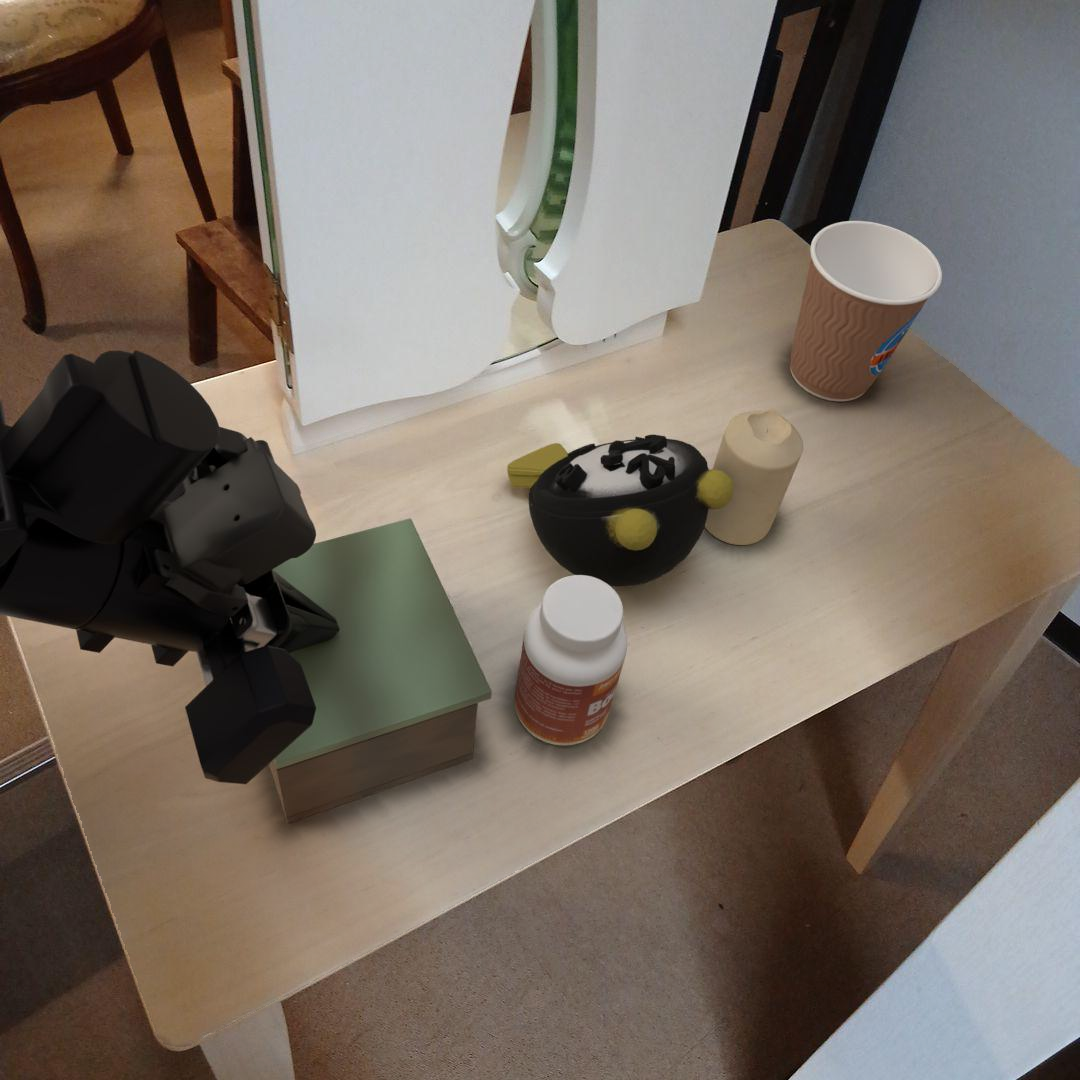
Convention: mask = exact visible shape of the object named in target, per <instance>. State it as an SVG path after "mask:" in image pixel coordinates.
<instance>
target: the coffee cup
mask: <svg viewBox="0 0 1080 1080" xmlns="http://www.w3.org/2000/svg"><path fill="white" fill-rule="evenodd" d="M809 250H810V262H809V266H808V270H807V276H806V280H805V285H804V291H803V295H802V298H801V304H800V309H799V313H798V318H797V323H796V327H795V331H794V337H793V341H792V345H791V350H790V364H789V370H790V372H791V375H792V378H793V380H794V381H795V382H796V383H797V384H798V386H799V387H801V389H803V390H804V391H805V392H807V393H809V394H810V395H812V396H814V397H817V398H819V399H822V400H825V401H831V402H849V401H854V400H856V399H859V398H861V396H863V395H864V394H865V393H866V392H867V390H868V389H869V387H871V386H872V385H874V383H875V381H876V380H877V378H878V376H879V375H880V374H881V373H882V371H883V370H884V368H885V366H886V365H887V363H888V362H889V360H890V359H891V357H892V355H893V354H894V352H895V351H896V349H897V348H898V346H899V345H900V343H901V341H902V340H903V339H904V337H905V336H906V334H907V332H908V331H909V329H910V328H911V326H912V325H913V323H914V321H915V320H916V318H917V317H918V315H919V314H920V313H921V311H922V309H923V308H924V305H925V304H926V303H927V300H928V299H929V298H930V297H932V296H933V295H934V294H935V293H936V292H937V291H938V290H939V288H940V286H941V284H942V279H943V273H942V267H941V265H940V262H939V260H938V259H937V257H936V255H935V254H934V253H933V252H932V251H931V250H930V248H929V247H927V246H926V245H925V244H923V243H922V242H921V241H920V240H919V239H917V238H916V237H914V236H912V235H910V234H909V233H906V232H905V231H903V230H900V229H898V228H895V227H893V226H889V225H887V224H883V223H878V222H872V221H866V220H847V221H846V220H845V221H840V222H835V223H832V224H830V225H827V226H825V227H823V228H822V229H821V230H819V231H818V232H817V233H816V234H815V236H814V237H813V239H812V240H811V244H810V249H809Z"/></svg>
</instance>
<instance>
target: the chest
mask: <svg viewBox="0 0 1080 1080" xmlns="http://www.w3.org/2000/svg"><path fill="white" fill-rule="evenodd" d="M478 707H479V703H476V704H473V705H470V706H467V707H464V708H461V709H458V710H455V711H452V712H449V713H446V714H443V715H440V716H437V717H434V718H431V719H428V720H425V721H422V722H419V723H415V724H412V725H409V726H406V727H403V728H400V729H397V730H394V731H391V732H388V733H385V734H382V735H379V736H376V737H373V738H370V739H367V740H364V741H361V742H358V743H355V744H352V745H349V746H346V747H343V748H340V749H337V750H334V751H331V752H328V753H325V754H322V755H319V756H316V757H313V758H310V759H307V760H304V761H301V762H298V763H295V764H292V765H289V766H285V767H282V768H279V769H277V768H276V767H275V763H274V760H273V761H271V762H270V763H269V764H268V766H269V769H270V772H271V776H272V779H273V783H274V785H275V788H276V791H277V795H278V797H279V801H280V804H281V807H282V810H283V814H284V817H285V820H286V823H287V824H290V823H293V822H296V821H299V820H302V819H305V818H307V817H310V816H312V815H316V814H319V813H322V812H324V811H327V810H330V809H332V808H337V807H339V806H341V805H344V804H347V803H350V802H353V801H356V800H359V799H361V798H364V797H367V796H370V795H373V794H376V793H378V792H382V791H384V790H387V789H389V788H393V787H395V786H398V785H401V784H404V783H408V782H410V781H412V780H416V779H419V778H421V777H424V776H427V775H430V774H433V773H435V772H438V771H442V770H445V769H447V768H450V767H453V766H455V765H459V764H461V763H464V762H466V761H470V760H472V759H473V756H474V744H475V737H476V726H477V716H478Z"/></svg>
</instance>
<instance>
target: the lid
mask: <svg viewBox="0 0 1080 1080" xmlns="http://www.w3.org/2000/svg"><path fill="white" fill-rule="evenodd" d="M273 570H274V571H275V572H277V573H278V574H279V575H280V576H281V577H282V578H284V579H285V580H286V581H287V582H288V583H290V584H291V585H292V586H294V587H295V588H296V589H297V590H299V591H300V592H301V593H303V594H304V595H305V596H307V597H308V598H309V599H311V600H312V601H313V602H315V603H316V604H317V605H319V606H320V607H321V608H322V609H324V610H325V611H326V612H328V613H329V614H330V615H332V616H333V617H334V618H335V619H336V621H337V624H338V626H339V629H340V631H339V632H338V633H337V634H336V635H335V636H334V637H333V638H331V639H330V640H328V641H325V642H322V643H319V644H316V645H312V646H309V647H306V648H303V649H300V650H296V651H293V652H290V653H289V654H290V655H291V656H292V657H293V658H294V659H295V660H297V661H298V662H299V663H300V664H301V666H302V669H303V672H304V675H305V677H306V680H307V683H308V686H309V689H310V692H311V694H312V697H313V700H314V703H315V706H316V711H315V716H314V720H313V724H312V725H311V726H310V727H309V728H308V729H307V730H306V731H305V732H304V733H302V734H301V735H300V736H299V737H298V738H297V739H296V740H295V741H294V742H293V743H291V744H290V745H289V746H288V747H287V748H286V749H285V750H284V751H283V752H281V753H280V754H279V755H278V756H277V757H276V758H275V759H274V763H275V767H276V768H277V769H279V768H282V767H285V766H289V765H292V764H295V763H298V762H301V761H304V760H307V759H310V758H313V757H316V756H319V755H322V754H325V753H328V752H331V751H334V750H337V749H340V748H343V747H346V746H349V745H352V744H355V743H358V742H361V741H364V740H367V739H370V738H373V737H376V736H379V735H382V734H385V733H388V732H391V731H394V730H397V729H400V728H403V727H406V726H409V725H412V724H415V723H419V722H422V721H425V720H428V719H431V718H434V717H437V716H440V715H443V714H446V713H449V712H452V711H455V710H458V709H461V708H464V707H467V706H470V705H473V704H476V703H478V704H479V703H482V702H486V701H488V700H491V698H492V692H493V691H492V689H491V687H490V685H489V682H488V681H487V678H486V675H485V674H484V671H483V670H482V667H481V665H480V663H479V661H478V658H477V657H476V654H475V653H474V651H473V650H474V649H473V648H472V646H471V644H470V642H469V640H468V637H467V636H466V633H465V631H464V629H463V627H462V624H461V623H460V620H459V618H458V616H457V614H456V611H455V609H454V607H453V605H452V603H451V601H450V598H449V597H448V595H447V592H446V590H445V588H444V586H443V584H442V582H441V579H440V577H439V575H438V573H437V570H436V569H435V567H434V564H433V563H432V560H431V558H430V555H429V554H428V552H427V549H426V547H425V545H424V543H423V541H422V539H421V537H420V534H419V532H418V530H417V528H416V526H415V524H414V522H413V520H412V518H410V517H409V518H406V519H402V520H398V521H393V522H391V523H386V524H383V525H379V526H376V527H372V528H368V529H364V530H360V531H357V532H353V533H348V534H345V535H341V536H338V537H337V536H336V537H334V538H330V539H327V540H323V541H319V542H314V543H313V545H312V547H311V548H310V549H309V550H308V551H307V552H306V553H304V554H303V555H301V556H299V557H298V558H292V559H289V560H287V561H286V562H284V563H282V564H281V565H279V566H277V567H276V568H274V569H273Z"/></svg>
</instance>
